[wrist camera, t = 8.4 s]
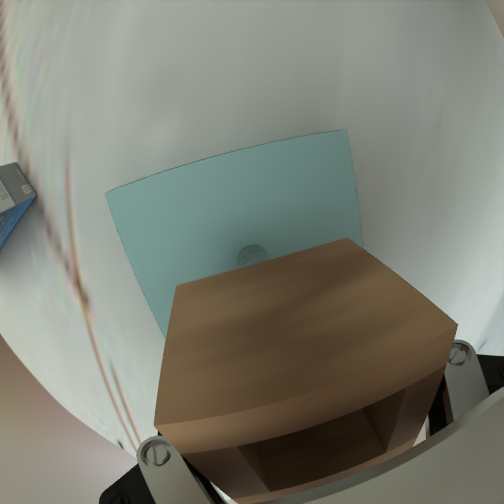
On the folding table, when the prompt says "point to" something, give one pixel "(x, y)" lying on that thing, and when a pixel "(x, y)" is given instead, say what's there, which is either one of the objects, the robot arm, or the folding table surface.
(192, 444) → the hollow wooden block
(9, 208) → the label tape box
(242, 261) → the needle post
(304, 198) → the teal flat board
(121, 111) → the folding table surface
